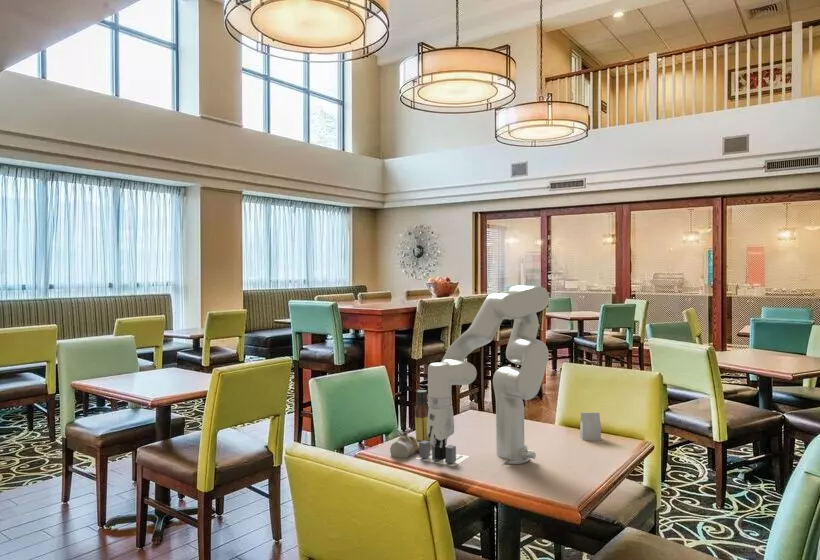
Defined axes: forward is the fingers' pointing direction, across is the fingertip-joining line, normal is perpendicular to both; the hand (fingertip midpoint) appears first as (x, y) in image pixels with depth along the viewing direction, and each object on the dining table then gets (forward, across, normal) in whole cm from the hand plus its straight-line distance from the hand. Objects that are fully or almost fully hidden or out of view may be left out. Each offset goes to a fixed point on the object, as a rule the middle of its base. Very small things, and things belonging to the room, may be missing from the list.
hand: (440, 458), depth 181 cm
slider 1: (+3, +7, +10) cm, 12 cm away
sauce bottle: (+5, +25, +21) cm, 33 cm away
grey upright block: (+5, +62, -31) cm, 69 cm away
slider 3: (+3, +7, 0) cm, 7 cm away
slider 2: (+3, +7, +5) cm, 9 cm away
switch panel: (+5, +10, +5) cm, 12 cm away
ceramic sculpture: (+5, +8, +19) cm, 21 cm away
